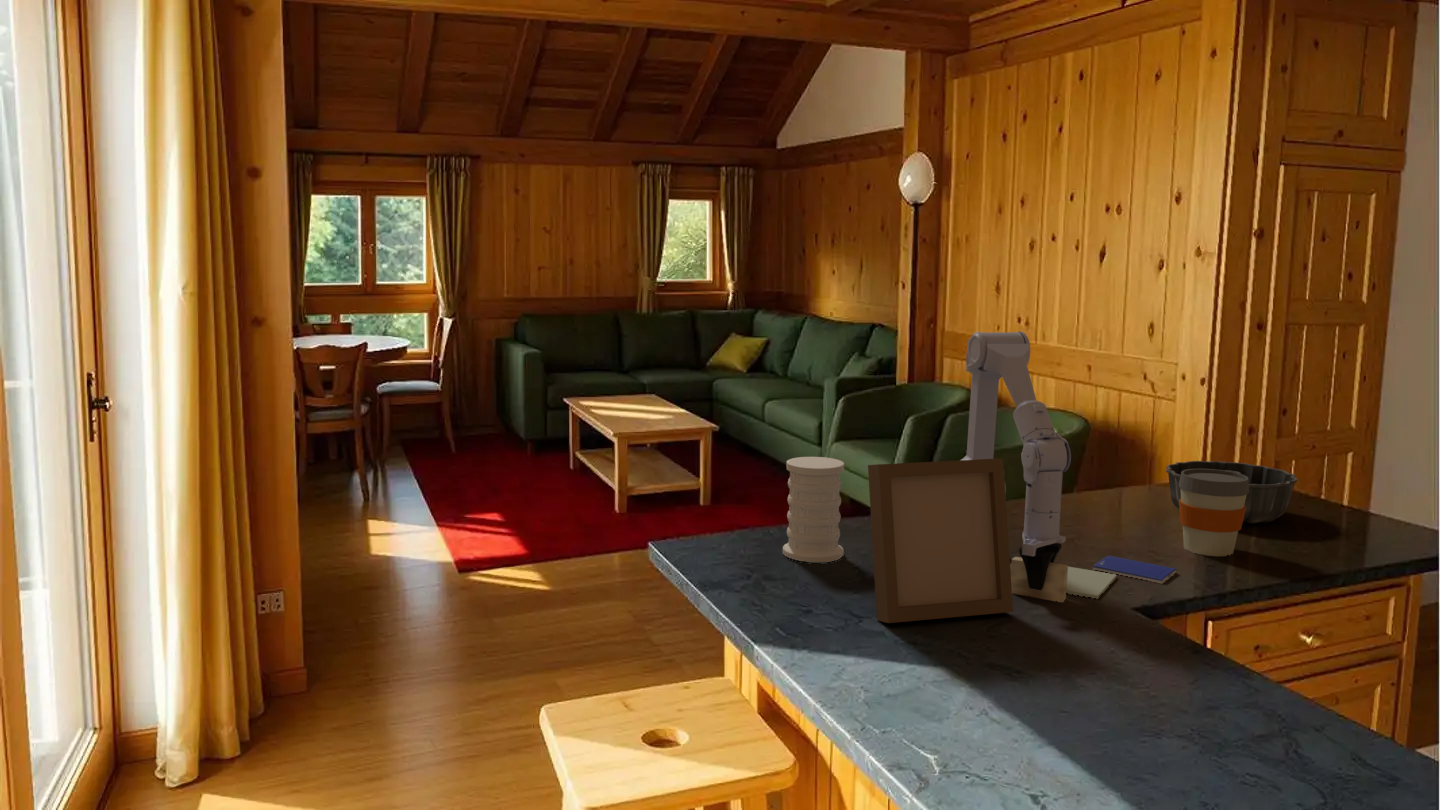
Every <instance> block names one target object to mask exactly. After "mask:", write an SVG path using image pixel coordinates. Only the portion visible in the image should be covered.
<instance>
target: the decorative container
mask: <svg viewBox="0 0 1440 810" xmlns="http://www.w3.org/2000/svg"><path fill="white" fill-rule="evenodd" d="M785 467H786V470H787V471H788V472H789V478H788V481H787V486H788V489H789V494H788V496H787V504H788V506H789V507H788V509H789V510H788V511H787V514H786V517H787V521H788V527H787V528H786V535H787V538H788V542H787V543H785V544H784V545H783V546H782V555H783V554H784V555H785V556H787V557H789V558H792V559H795V560H799V561H806V562H830V561H834V560H838V559H840V558H841V557H842V556H843V557H844V547H842V545H840V544H839V539H840V536H841V529H840V528H839V523H840V521H841V517H842V516H841V513H840V506H841V504H842V497H841V495H840V490H841V488H842V485H843V484H842V480H841V473H843V472H844V471H845V462H844V461H842V460H840V459H837V458H833V457H825V456H800V457H793V458H789V459H788V460H786V466H785ZM840 560H841V559H840ZM838 561H839V560H838Z"/></svg>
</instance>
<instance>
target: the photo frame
mask: <svg viewBox="0 0 1440 810" xmlns="http://www.w3.org/2000/svg"><path fill="white" fill-rule="evenodd" d="M1004 468H1005V466H1004V458H993V459H979V460H961V459H960V460H959V459H958V460H943V461H941V460H940V461H923V462H921V461H920V462H899V463H882V464H881V463H880V464H867V472H868V487H869V488H868V489H869V506H870V508H869V509H870V521H871V522H870V523H871V540H872V543H871V544H872V558H873V575H874V591H875V593H874V594H875V607H876V609H875V611H876V620H877V621H879V622H881V623H887V624H893V623H895V624H896V623H905V622H915V621H926V620H929V621H930V620H938V619H948V618H949V619H950V618H951V619H952V618H960V617H973V616H980V615H981V616H982V615H993V614H1005V613H1013V612H1014V606H1013V605H1014V602H1013V593H1012V585H1011V570H1010V564H1011V561H1010V560H1011V558H1010V557H1011V555H1010V542H1009V530H1008V529H1009V528H1008V514H1007V501H1006V499H1007V497H1006V494H1005V486H1006V481H1005V469H1004Z"/></svg>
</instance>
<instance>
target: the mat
mask: <svg viewBox="0 0 1440 810" xmlns="http://www.w3.org/2000/svg"><path fill="white" fill-rule="evenodd" d="M1010 570H1011V563H1010ZM1117 576H1118V575H1116V574H1110V573H1105V572H1100V571H1095V570H1093V569H1091V570H1090V569H1086V568H1080V567H1072V566H1068V573H1067V589H1066V593H1068V595H1072V594H1073V596H1077V595H1079V597H1083V596H1085V598H1088V597H1091V598H1090V599H1094V598H1096V599H1095V600H1098V599H1099V598H1100V597H1101V596H1102V595H1103V594H1104V593H1105V592H1106V590H1107V589H1108V588H1109V587H1110V586H1111V585H1112V583H1114V582H1115V580H1116V579H1117V578H1116V577H1117ZM1110 584H1111V585H1110ZM1109 585H1110V586H1109ZM1102 593H1103V594H1102ZM1101 594H1102V595H1101ZM1100 595H1101V596H1100ZM1099 596H1100V597H1099Z"/></svg>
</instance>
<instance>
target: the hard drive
mask: <svg viewBox="0 0 1440 810" xmlns="http://www.w3.org/2000/svg"><path fill="white" fill-rule="evenodd" d="M1095 570H1099V571H1098V572H1100V571H1104V573H1105V572H1108V573H1113V574H1119V575H1118V576H1120V575H1123V576H1122V577H1125V576H1128V577H1127V578H1130V577H1133V578H1132V579H1135V578H1138V579H1137V580H1140V579H1143V580H1142V581H1145V580H1148V581H1147V582H1150V581H1151V583H1155V582H1156V583H1155V584H1159V585H1160V584H1161V585H1162V584H1164V583H1165V582H1167V581H1168V580H1169V579H1171V578H1172V577H1173V576H1175V575H1176V574H1177V568H1174V567H1168V566H1162V565H1158V564H1154V563H1149V562H1143V561H1137V560H1132V559H1129V558H1122V557H1118V556H1113V555H1107V556H1105V557H1103V558H1102V559H1100V560H1099V561H1098V562H1096V563H1094V564H1093V568H1092V571H1095ZM1175 573H1176V574H1175ZM1174 574H1175V575H1174ZM1171 576H1172V577H1171ZM1170 577H1171V578H1170ZM1166 580H1167V581H1166Z"/></svg>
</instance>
